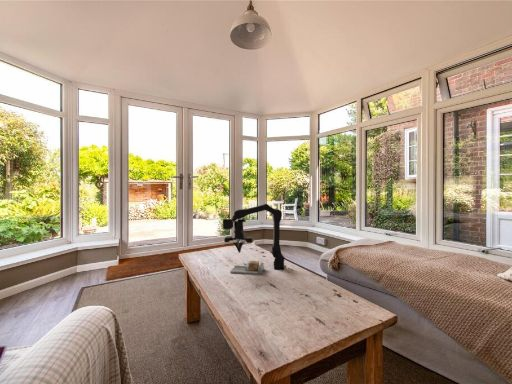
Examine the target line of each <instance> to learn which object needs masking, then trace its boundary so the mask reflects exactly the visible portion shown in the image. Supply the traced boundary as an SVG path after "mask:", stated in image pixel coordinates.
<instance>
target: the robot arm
mask: <svg viewBox="0 0 512 384" xmlns="http://www.w3.org/2000/svg"><path fill="white" fill-rule="evenodd" d="M264 211H267V212H269V213H270V214H271V218H272V222H273V228H272V230H273V236H272V239H273V241H272V245H270V246H269V247H270V249H269V252H270V253H271V255H272V257H273V258H274V259H273V270H275V271H276V270H277V271H284V270H285V259H286V257H285V256H284V254H282V249H281V246H280V240H281V239H280V231H281V229H280V226H281V225H280V224H281V220H282V216H283V212H282V211H281V210H280V209H279V208H274V207H272V206H271V205H269V204H268V203H263V204H261V205H256V206H252V207H249V208H237V209H235V210H234V212H233V216H231V218H223V219H222V230H232V229H233V228H234V229H233V230H234V231H233V233H234V237H233V236H232V235H231V236H229V235H227V236H225V237H224V243H229V242H231V241H233V242H232V244H233V245H234V246H235V248H236V250H237V252H238V254H240V253H241V251H242V248H243V246H244V244H245V243H247V244H252V243H253V242H255V237H254V236H247V237H246V234H247V233H246V232H245V231H244V223H246V222H247V221H246V219H245V217H248V215H251V214H256V213H259V212H264Z"/></svg>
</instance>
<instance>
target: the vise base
mask: <svg viewBox="0 0 512 384" xmlns="http://www.w3.org/2000/svg"><path fill="white" fill-rule="evenodd" d="M264 267H265V265H264V262H260V263H259V267H258V271H249V270H248V271H245V265H240V264H238V265H237V264H236V265H234V267H233V268H232V269H230V274H243V275H262V274H263V271H264V270H265V268H264Z"/></svg>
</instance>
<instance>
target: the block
mask: <svg viewBox="0 0 512 384" xmlns="http://www.w3.org/2000/svg"><path fill="white" fill-rule="evenodd" d="M247 263H248V267H249V271H258V267H259V265H260V261H259V260H249V261H248V262H247Z"/></svg>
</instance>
